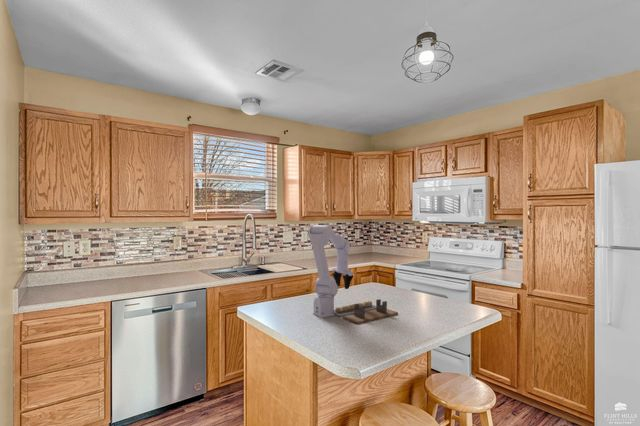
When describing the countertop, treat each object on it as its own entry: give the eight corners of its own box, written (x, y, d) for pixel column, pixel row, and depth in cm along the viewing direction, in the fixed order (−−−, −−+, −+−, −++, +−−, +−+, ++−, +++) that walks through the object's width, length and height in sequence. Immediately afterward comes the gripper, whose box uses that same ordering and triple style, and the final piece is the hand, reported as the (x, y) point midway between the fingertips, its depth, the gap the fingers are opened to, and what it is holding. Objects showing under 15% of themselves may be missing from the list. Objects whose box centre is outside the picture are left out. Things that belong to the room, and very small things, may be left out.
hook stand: (356, 324, 149) (356, 309, 149) (342, 318, 157) (342, 304, 157) (397, 314, 164) (397, 301, 164) (383, 309, 172) (383, 296, 172)
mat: (339, 317, 159) (339, 315, 159) (328, 312, 167) (328, 311, 167) (379, 308, 174) (379, 307, 174) (367, 304, 182) (367, 303, 182)
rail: (338, 313, 163) (338, 308, 163) (335, 312, 165) (335, 307, 165) (372, 306, 176) (372, 301, 176) (369, 305, 178) (368, 300, 178)
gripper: (357, 262, 176) (357, 289, 176) (340, 259, 188) (340, 284, 188) (346, 263, 172) (346, 290, 172) (329, 260, 184) (329, 285, 184)
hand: (342, 287), depth 180 cm, fingers open, 7 cm apart
